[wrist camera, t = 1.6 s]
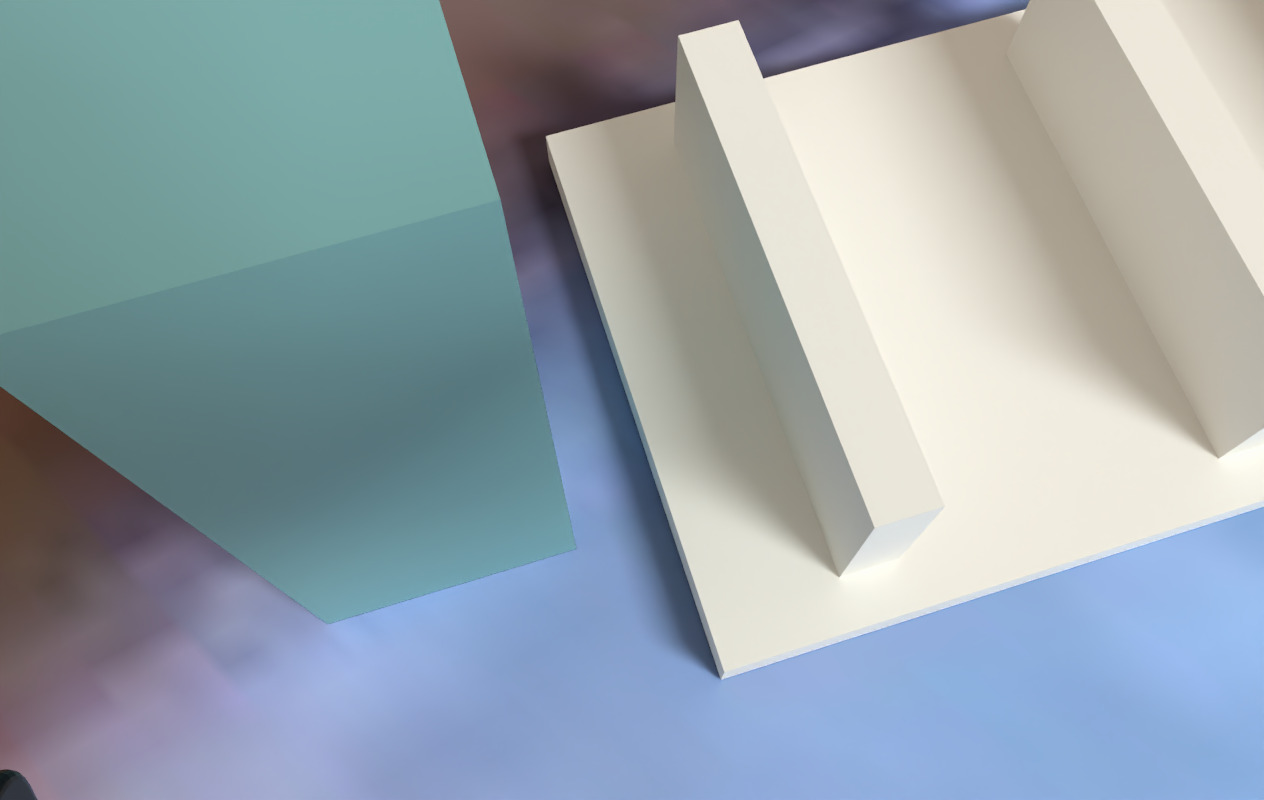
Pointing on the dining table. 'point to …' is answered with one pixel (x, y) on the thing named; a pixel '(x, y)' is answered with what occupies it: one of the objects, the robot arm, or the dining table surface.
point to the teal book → (275, 286)
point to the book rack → (935, 307)
